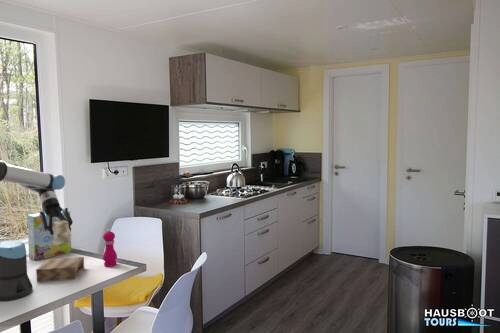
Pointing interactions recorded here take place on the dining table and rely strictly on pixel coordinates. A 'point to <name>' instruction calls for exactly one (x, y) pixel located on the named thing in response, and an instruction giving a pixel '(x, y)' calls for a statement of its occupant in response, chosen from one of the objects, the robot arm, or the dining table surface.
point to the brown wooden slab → (59, 269)
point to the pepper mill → (109, 249)
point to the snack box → (43, 239)
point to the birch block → (61, 232)
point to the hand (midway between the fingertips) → (63, 237)
